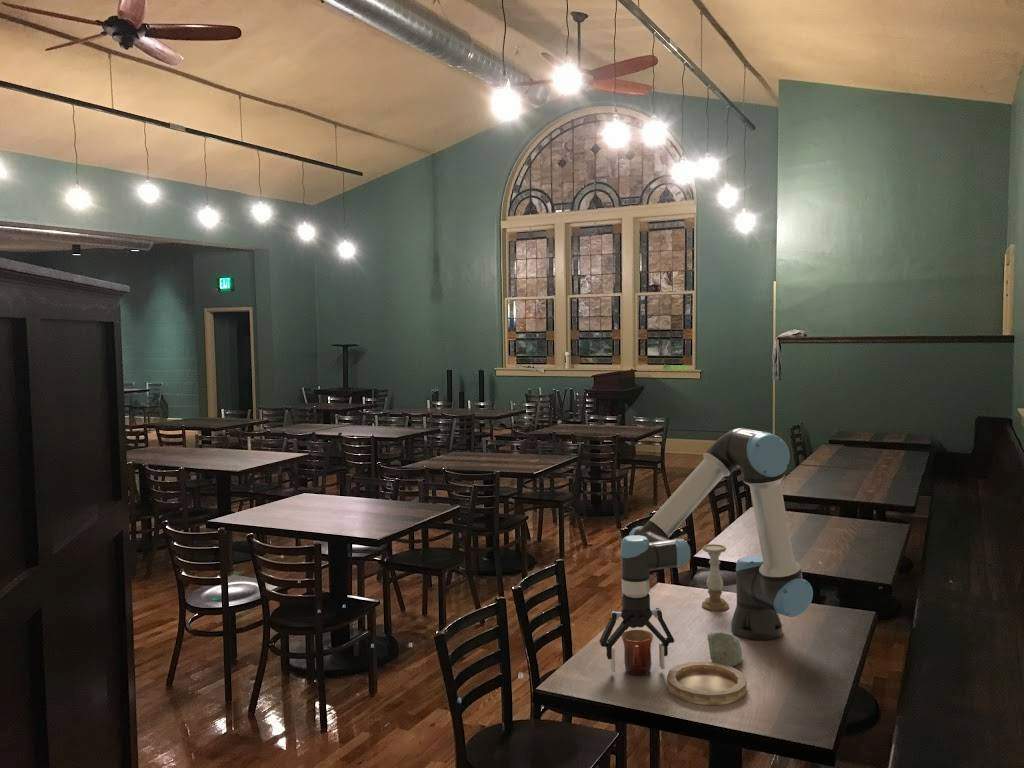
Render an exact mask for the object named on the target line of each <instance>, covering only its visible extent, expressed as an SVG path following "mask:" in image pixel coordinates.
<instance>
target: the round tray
mask: <svg viewBox="0 0 1024 768" xmlns="http://www.w3.org/2000/svg"><path fill="white" fill-rule="evenodd" d="M747 684H748V683H747V677H746V676H745V675H744V673H743V672H742V671H740V670H739V669H737V668H735V667H734V666H733V667H731V666H727V665H723V664H720V663H713V662H712V661H693V662H692V661H691V662H686V663H681V664H678V665H675V666H673V667H672V668H671V669H669V670H668V673H667V675H666V685H667V689H668V691H669V692H670V693H671V694H672V695H673V696H674V697H676V698H677V699H679V700H681V701H683V702H687V703H691V704H696V705H698V706H699V705H700V706H701V705H702V706H710V707H711V706H726V705H729V704H734V703H736V702H739V701H740V700H742V699H743V698H744V697H745V695H746V693H747Z"/></svg>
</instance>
